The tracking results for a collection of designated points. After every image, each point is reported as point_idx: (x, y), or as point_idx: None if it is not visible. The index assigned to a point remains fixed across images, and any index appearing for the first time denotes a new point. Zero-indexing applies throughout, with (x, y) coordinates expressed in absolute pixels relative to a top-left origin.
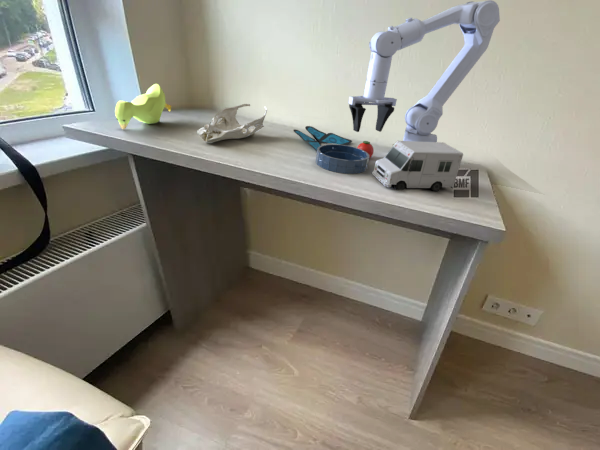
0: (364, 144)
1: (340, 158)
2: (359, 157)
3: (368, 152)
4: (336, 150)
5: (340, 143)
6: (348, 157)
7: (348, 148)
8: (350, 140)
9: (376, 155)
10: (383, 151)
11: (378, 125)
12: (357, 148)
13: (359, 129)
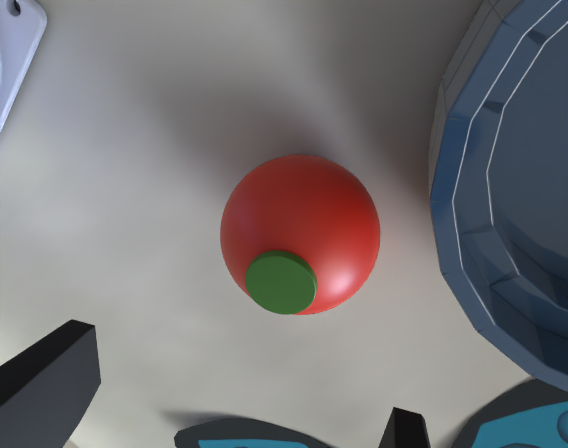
0: (324, 264)
1: (546, 256)
2: (498, 125)
3: (323, 172)
4: (559, 338)
5: (270, 445)
6: (500, 224)
7: (485, 297)
8: (182, 445)
9: (145, 220)
10: (43, 260)
11: (60, 406)
12: (454, 235)
13: (400, 430)
